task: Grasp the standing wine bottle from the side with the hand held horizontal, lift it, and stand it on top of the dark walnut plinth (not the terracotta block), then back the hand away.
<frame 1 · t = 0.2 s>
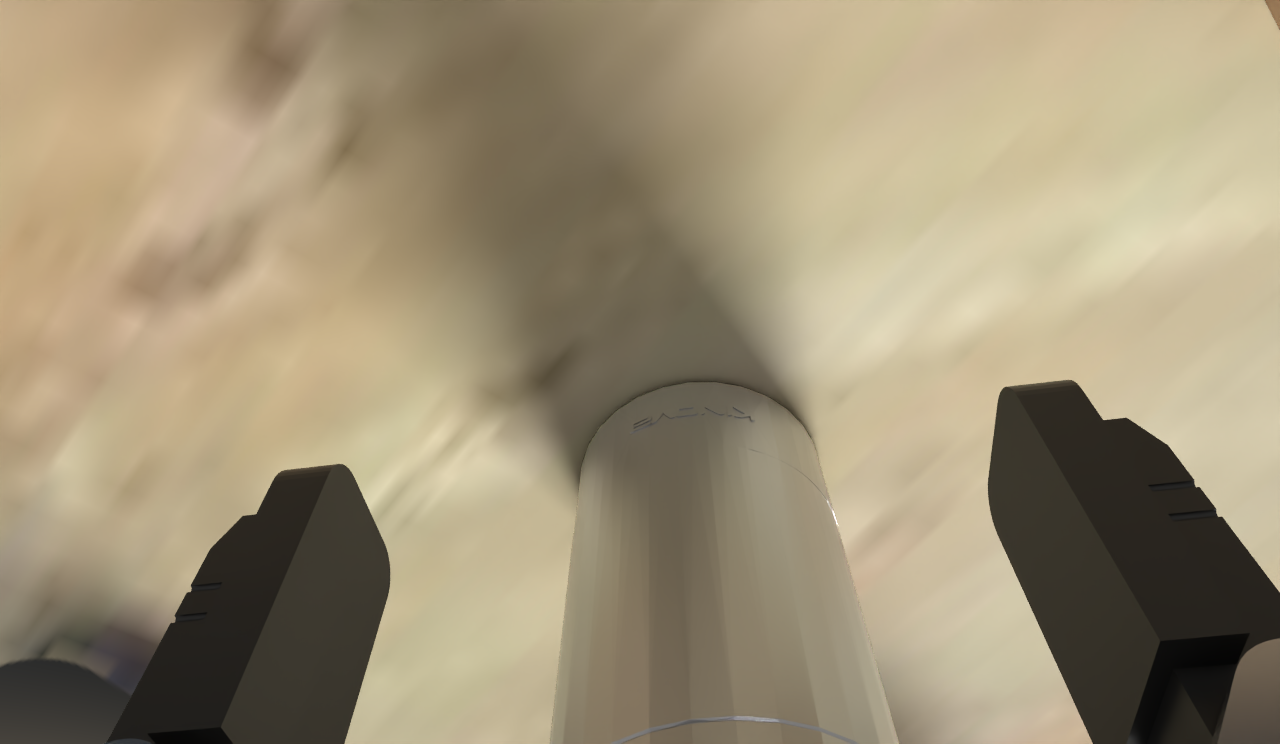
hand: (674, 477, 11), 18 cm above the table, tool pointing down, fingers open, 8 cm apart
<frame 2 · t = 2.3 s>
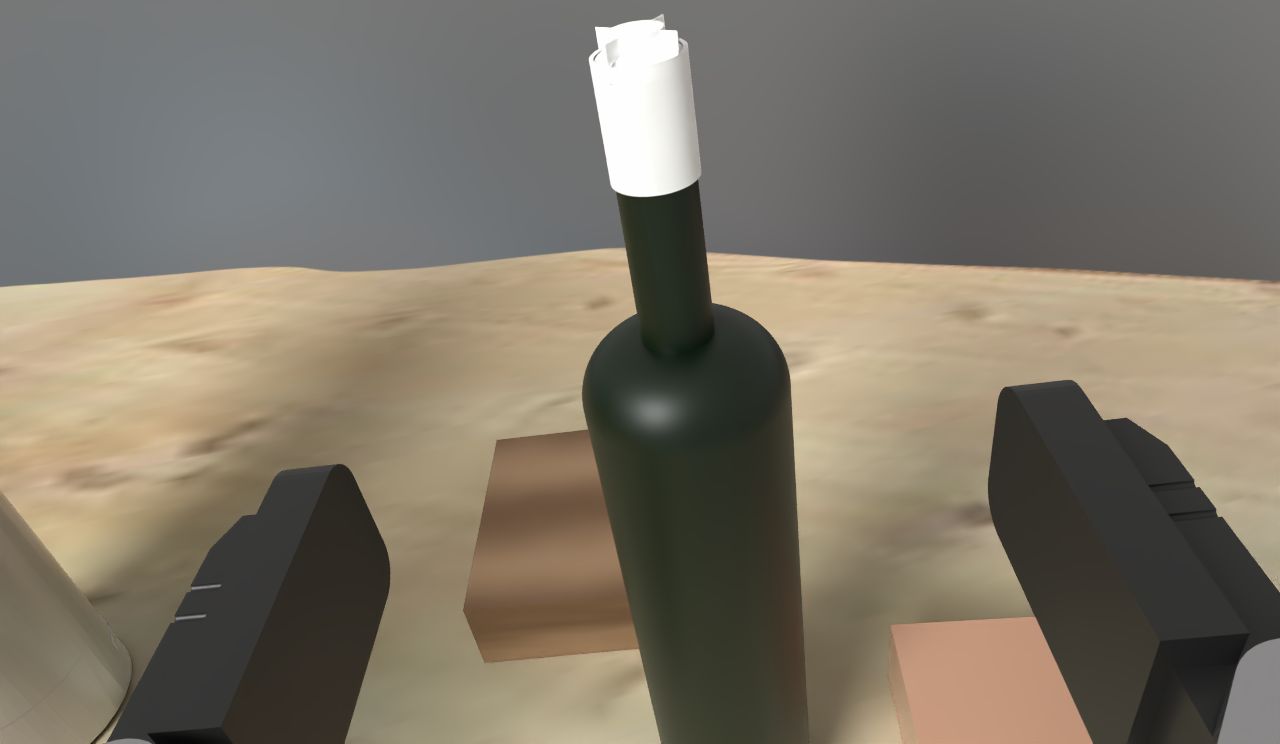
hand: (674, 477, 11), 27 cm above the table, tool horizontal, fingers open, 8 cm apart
walnut block: (609, 556, 47), on the table
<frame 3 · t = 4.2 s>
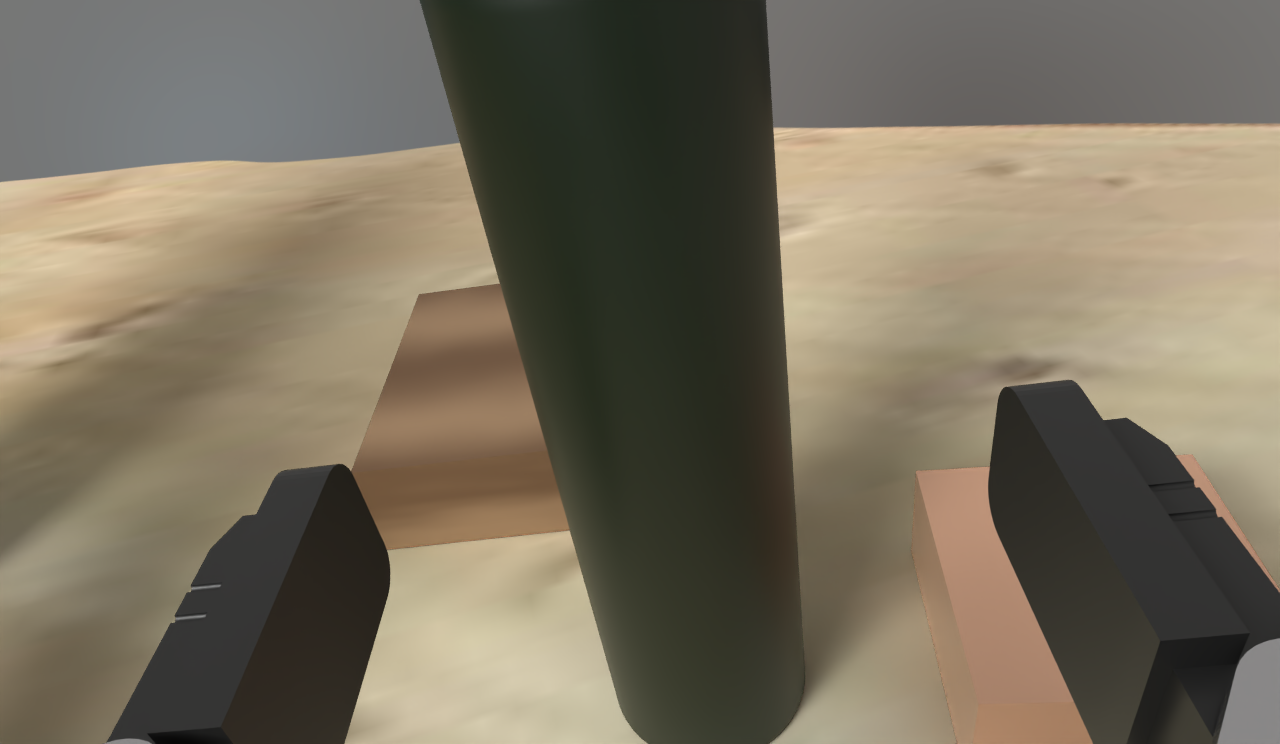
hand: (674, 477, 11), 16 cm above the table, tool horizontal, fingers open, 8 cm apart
terracotta block: (1075, 654, 26), on the table
walnut block: (554, 428, 37), on the table
wine bottle: (709, 678, 27), on the table
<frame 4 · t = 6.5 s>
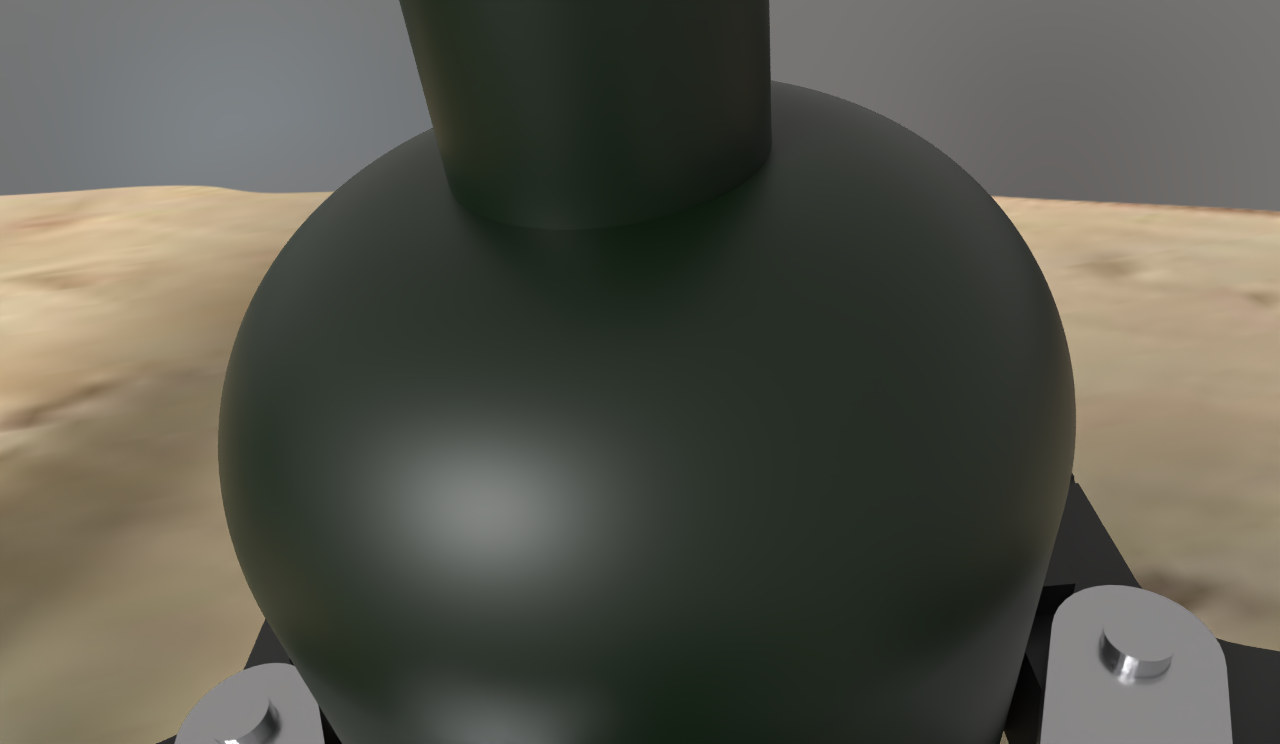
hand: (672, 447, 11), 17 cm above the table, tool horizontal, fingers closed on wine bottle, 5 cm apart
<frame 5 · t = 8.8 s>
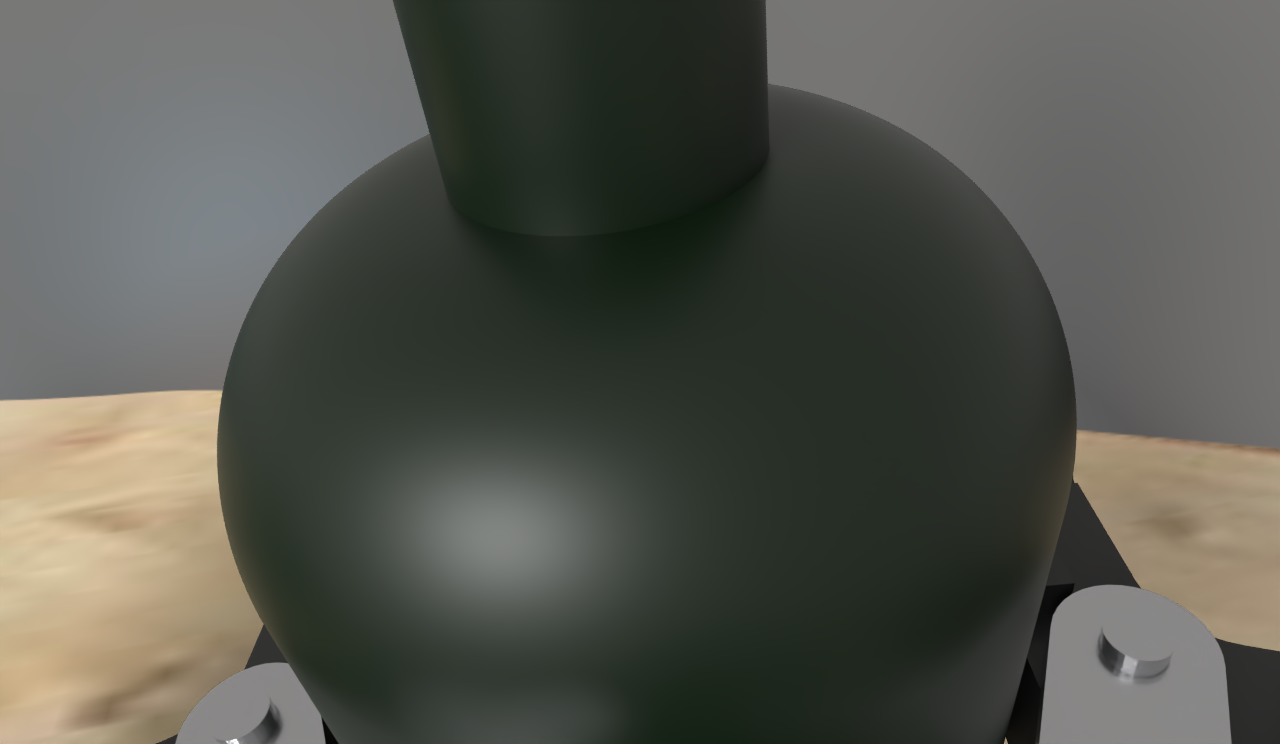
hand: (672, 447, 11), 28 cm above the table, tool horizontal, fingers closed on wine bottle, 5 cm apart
when the fingers open (21 cm above the table, at t = 11.3 s): wine bottle stays where it is, resting on walnut block.
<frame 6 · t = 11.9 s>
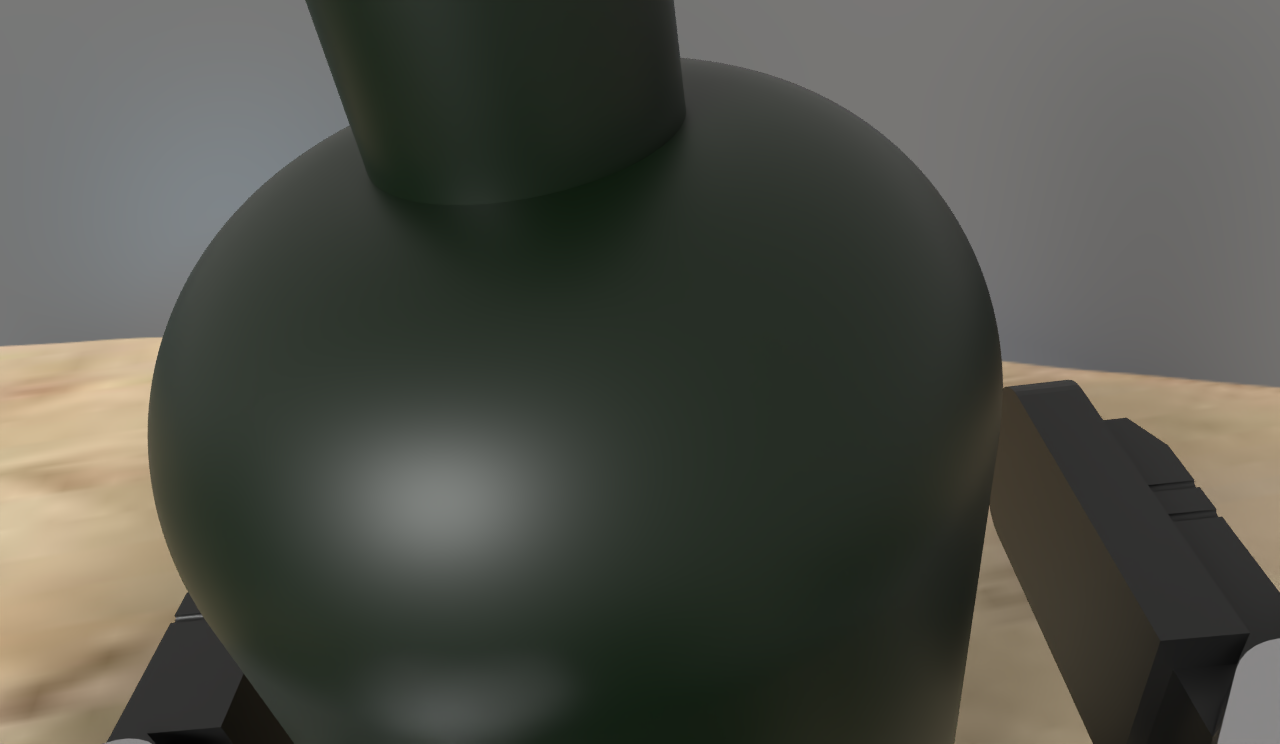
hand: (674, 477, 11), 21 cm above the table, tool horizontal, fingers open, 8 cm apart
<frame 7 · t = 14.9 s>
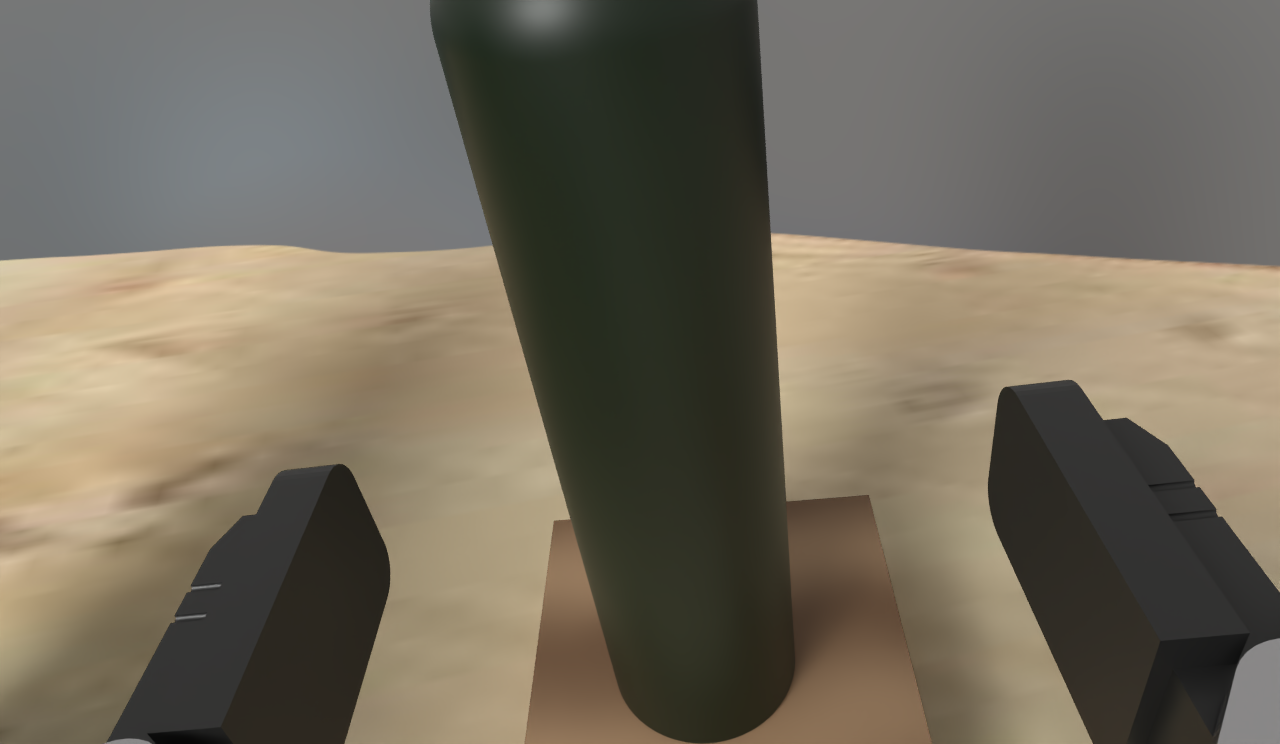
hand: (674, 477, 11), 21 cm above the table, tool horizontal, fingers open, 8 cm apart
walnut block: (725, 710, 31), on the table
wine bottle: (704, 663, 28), point 4 cm above the table, touching walnut block
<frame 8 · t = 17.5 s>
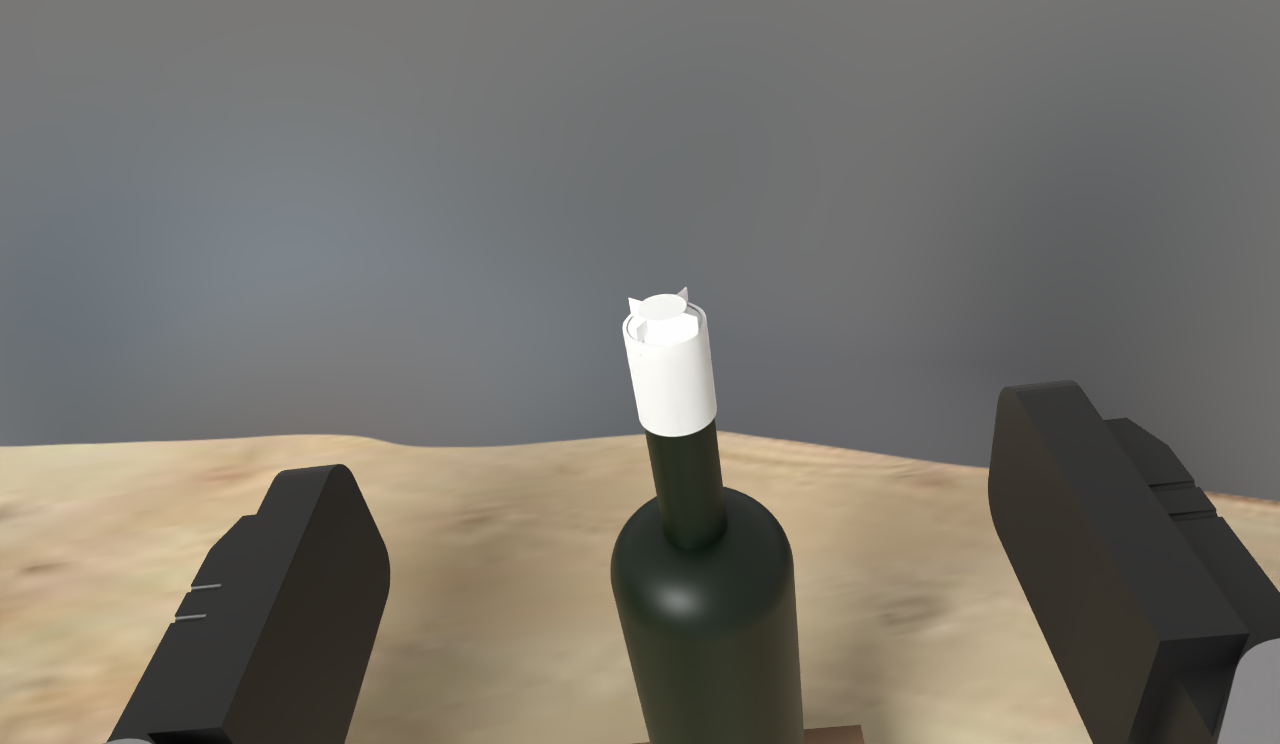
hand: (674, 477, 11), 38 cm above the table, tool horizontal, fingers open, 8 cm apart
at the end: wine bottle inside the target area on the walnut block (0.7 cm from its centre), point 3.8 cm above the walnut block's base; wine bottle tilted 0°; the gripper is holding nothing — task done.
